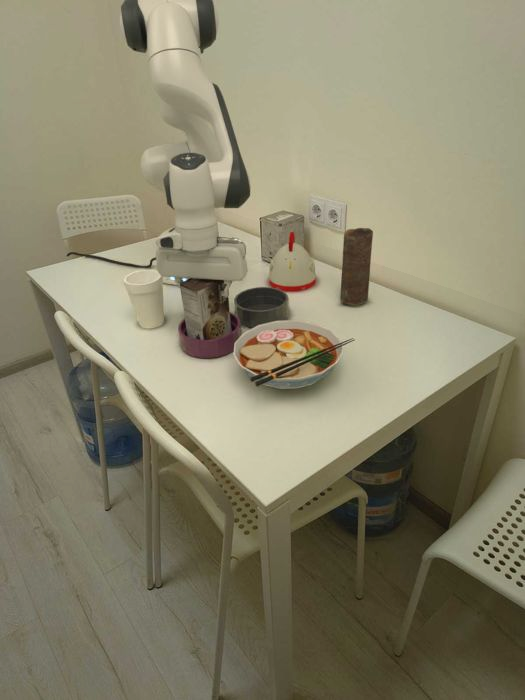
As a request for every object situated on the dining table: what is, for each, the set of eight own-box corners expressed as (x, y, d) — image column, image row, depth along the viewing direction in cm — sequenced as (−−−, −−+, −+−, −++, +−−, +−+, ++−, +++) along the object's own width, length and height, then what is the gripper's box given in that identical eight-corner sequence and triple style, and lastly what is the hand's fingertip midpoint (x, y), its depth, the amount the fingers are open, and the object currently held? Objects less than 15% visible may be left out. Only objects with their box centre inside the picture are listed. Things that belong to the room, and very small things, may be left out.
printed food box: (215, 328, 121) (208, 268, 112) (233, 336, 117) (228, 276, 108) (187, 343, 115) (178, 282, 106) (205, 352, 111) (197, 290, 103)
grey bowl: (229, 326, 122) (227, 309, 119) (243, 301, 134) (242, 285, 131) (282, 331, 119) (282, 313, 116) (293, 305, 130) (292, 288, 128)
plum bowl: (171, 356, 112) (167, 338, 109) (193, 325, 124) (191, 307, 121) (231, 362, 108) (229, 343, 106) (248, 329, 121) (247, 311, 118)
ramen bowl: (303, 335, 117) (303, 305, 112) (368, 380, 100) (371, 347, 96) (212, 370, 106) (208, 339, 102) (269, 427, 89) (267, 393, 85)
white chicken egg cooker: (266, 291, 139) (263, 241, 130) (272, 271, 150) (270, 224, 142) (314, 292, 136) (314, 241, 128) (317, 272, 148) (317, 224, 140)
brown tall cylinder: (367, 309, 126) (372, 236, 115) (339, 308, 128) (342, 235, 117) (367, 296, 132) (373, 225, 122) (341, 295, 134) (344, 225, 123)
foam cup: (134, 334, 121) (123, 287, 114) (132, 317, 129) (122, 272, 122) (171, 327, 123) (163, 281, 116) (168, 311, 131) (160, 267, 124)
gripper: (248, 233, 102) (252, 291, 110) (160, 229, 107) (170, 286, 114) (240, 243, 97) (245, 304, 104) (148, 239, 102) (159, 298, 109)
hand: (205, 294), depth 109 cm, fingers closed on printed food box, 8 cm apart
